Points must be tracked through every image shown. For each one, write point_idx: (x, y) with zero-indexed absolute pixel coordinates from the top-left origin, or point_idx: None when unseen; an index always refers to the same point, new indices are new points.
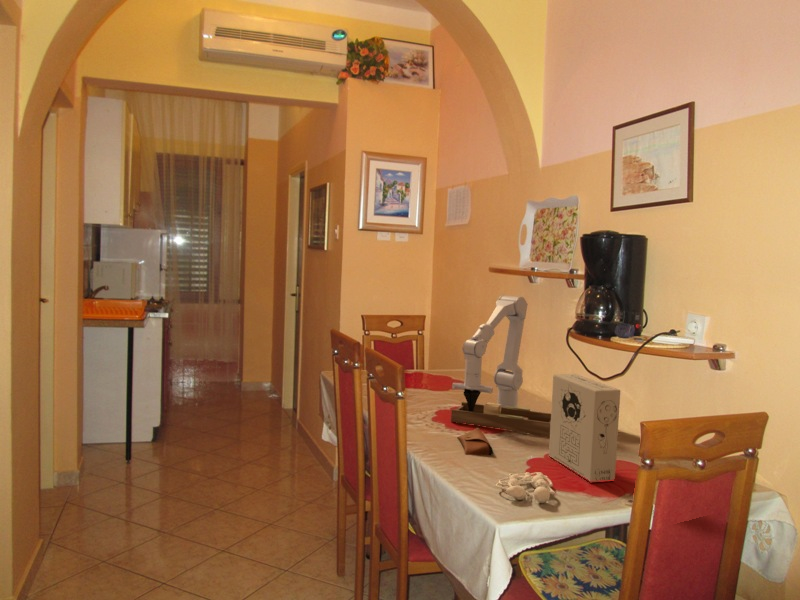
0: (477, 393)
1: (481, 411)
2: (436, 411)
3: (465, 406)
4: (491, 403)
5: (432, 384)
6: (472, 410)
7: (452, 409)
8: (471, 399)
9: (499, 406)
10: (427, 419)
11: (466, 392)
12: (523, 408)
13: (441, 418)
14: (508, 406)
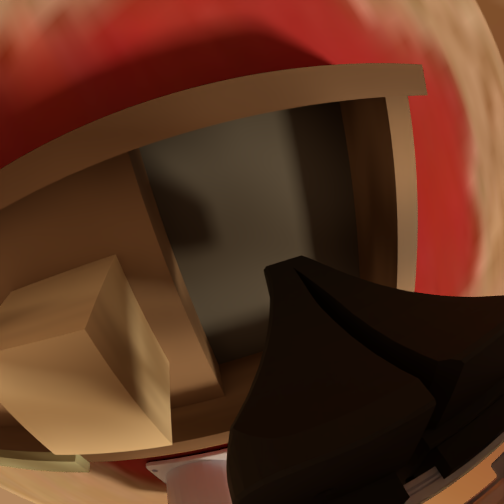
0: (234, 498)
1: (251, 383)
2: (477, 251)
3: None
4: (119, 442)
5: None
6: (266, 273)
7: (422, 83)
8: (330, 330)
9: (9, 407)
10: (467, 70)
11: (496, 362)
12: (16, 465)
13: (433, 137)
14: (81, 470)
